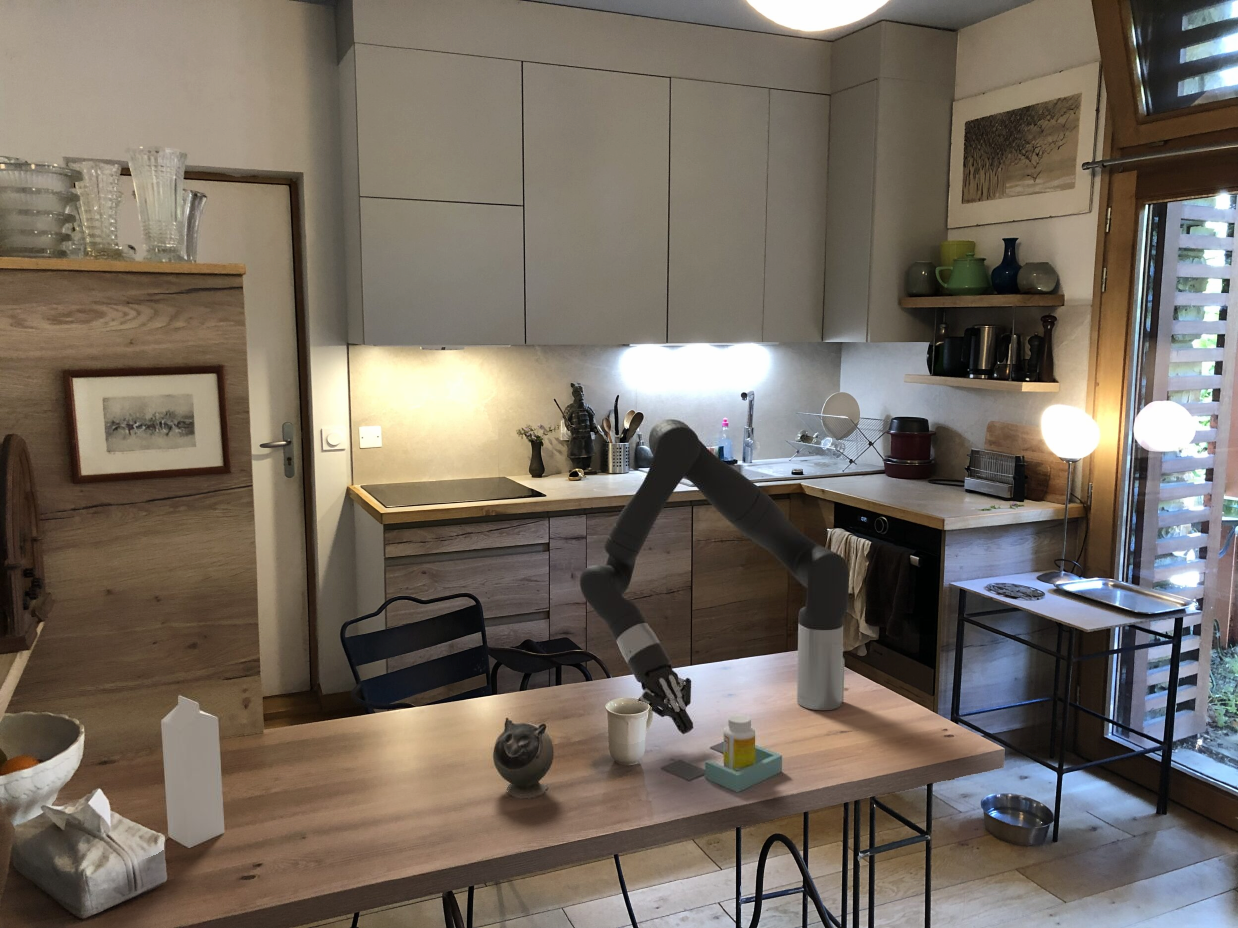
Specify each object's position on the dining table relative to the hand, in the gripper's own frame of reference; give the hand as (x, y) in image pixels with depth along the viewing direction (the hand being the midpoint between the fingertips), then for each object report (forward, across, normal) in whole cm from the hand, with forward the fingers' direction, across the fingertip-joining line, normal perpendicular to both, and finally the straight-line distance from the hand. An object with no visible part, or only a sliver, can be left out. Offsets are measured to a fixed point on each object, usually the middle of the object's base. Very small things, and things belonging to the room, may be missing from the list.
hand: (688, 731), depth 181 cm
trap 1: (+6, -6, -1) cm, 9 cm away
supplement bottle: (+12, 0, -6) cm, 13 cm away
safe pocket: (+12, 0, -7) cm, 14 cm away
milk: (-18, -79, +25) cm, 85 cm away
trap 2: (+6, +6, -1) cm, 9 cm away
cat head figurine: (-3, -32, +9) cm, 33 cm away
